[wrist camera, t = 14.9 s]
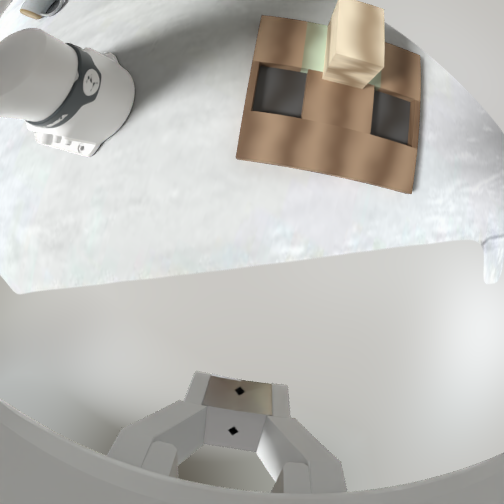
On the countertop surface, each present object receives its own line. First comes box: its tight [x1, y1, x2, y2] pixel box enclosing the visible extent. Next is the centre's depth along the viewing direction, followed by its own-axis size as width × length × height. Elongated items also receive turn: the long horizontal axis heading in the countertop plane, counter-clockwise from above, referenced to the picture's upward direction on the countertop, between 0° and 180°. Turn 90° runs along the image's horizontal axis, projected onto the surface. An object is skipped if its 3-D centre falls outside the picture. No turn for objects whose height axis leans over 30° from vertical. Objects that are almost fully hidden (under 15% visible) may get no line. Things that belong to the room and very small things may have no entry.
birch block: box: [322, 0, 385, 89], centre depth 29 cm, size 6×10×9 cm, turn 171°
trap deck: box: [236, 15, 421, 194], centre depth 36 cm, size 26×24×2 cm
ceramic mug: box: [20, 0, 63, 19], centre depth 29 cm, size 11×8×8 cm
